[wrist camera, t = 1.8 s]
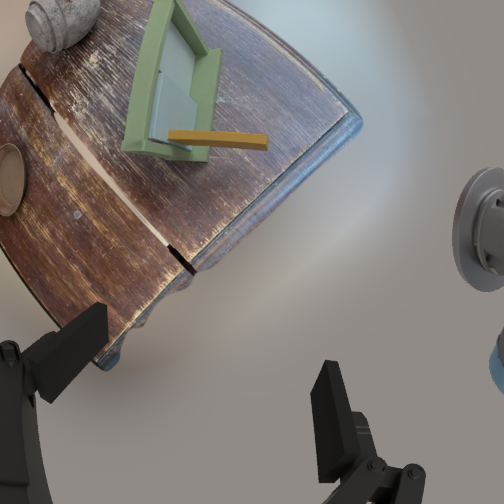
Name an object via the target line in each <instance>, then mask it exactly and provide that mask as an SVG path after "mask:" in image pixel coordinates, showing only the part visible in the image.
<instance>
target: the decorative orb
mask: <svg viewBox="0 0 504 504" xmlns="http://www.w3.org/2000/svg"><path fill="white" fill-rule="evenodd" d="M99 11H100V0H32V1H31V2H30V5H29V9H28V11H27V12H26V15H25V19H26V24H27V28H28V30H29V33H30V35H31V37H32V39H33V41H34V42H35V44H36V45H37V46H38V48H39V49H41V50H42V51H49V52H51V53H57V52H60V51H61V50H62V48H63V49H66V48H69V47H71V46H73V45H74V44H76V43H77V42H79V41H80V40H81V39H82V38H83V37H85V36H86V34H87V33H88V32H89V31H90V30H91V28H92V27H93V26H94V24H95V22H96V20H97V18H98V15H99Z"/></svg>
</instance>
